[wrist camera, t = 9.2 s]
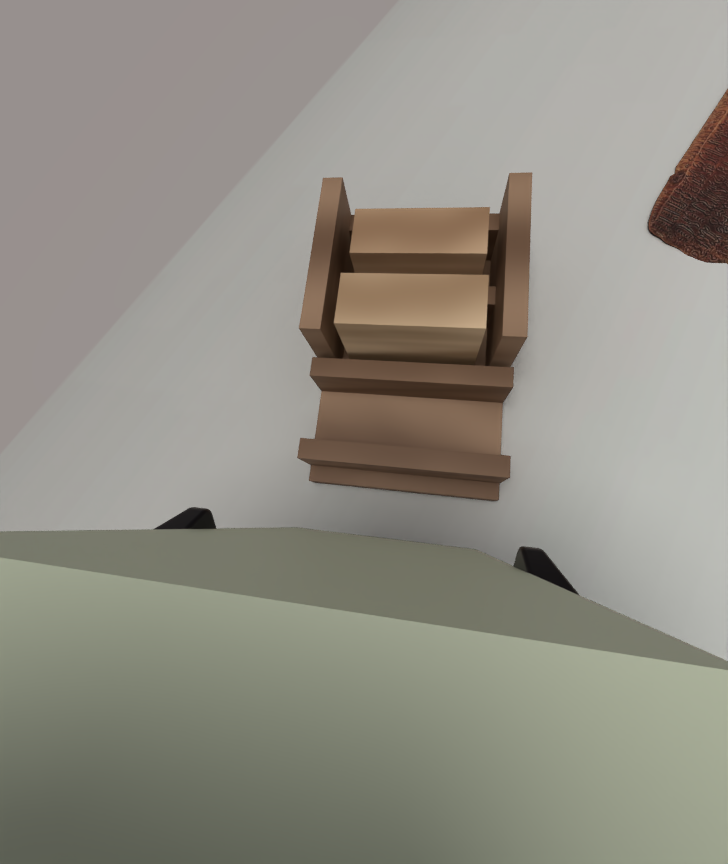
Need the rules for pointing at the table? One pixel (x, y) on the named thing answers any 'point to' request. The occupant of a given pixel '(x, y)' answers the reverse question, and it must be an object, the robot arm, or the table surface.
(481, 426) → the offcut rack
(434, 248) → the small oak offcut
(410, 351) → the oak offcut
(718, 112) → the wooden tablet
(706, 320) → the table surface
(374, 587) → the tall board
